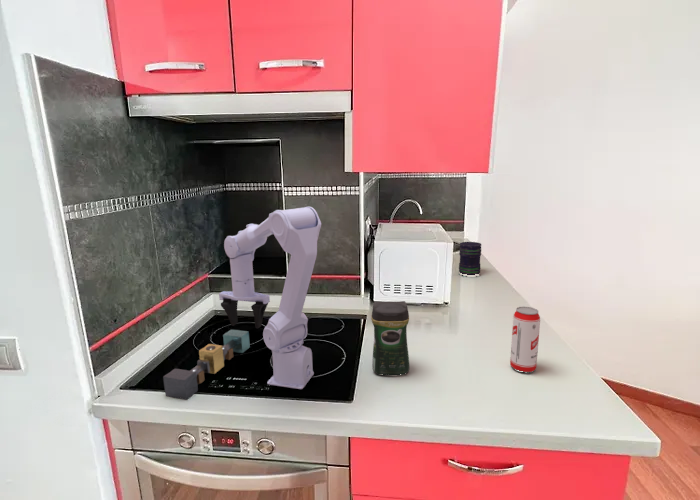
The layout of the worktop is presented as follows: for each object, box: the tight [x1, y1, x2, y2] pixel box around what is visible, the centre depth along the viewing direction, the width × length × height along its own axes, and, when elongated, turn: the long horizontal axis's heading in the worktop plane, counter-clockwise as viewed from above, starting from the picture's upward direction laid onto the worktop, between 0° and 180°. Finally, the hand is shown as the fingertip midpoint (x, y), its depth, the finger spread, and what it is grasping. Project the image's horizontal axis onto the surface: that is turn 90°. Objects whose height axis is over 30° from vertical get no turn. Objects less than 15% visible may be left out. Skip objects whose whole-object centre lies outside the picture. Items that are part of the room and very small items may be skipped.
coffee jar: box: [370, 300, 410, 376], centre depth 102 cm, size 10×8×19 cm
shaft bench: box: [162, 329, 251, 401], centre depth 106 cm, size 6×28×5 cm, turn 163°
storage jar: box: [458, 241, 482, 275], centre depth 188 cm, size 10×10×15 cm
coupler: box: [198, 343, 225, 375], centre depth 106 cm, size 4×4×6 cm
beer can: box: [509, 306, 541, 373], centre depth 102 cm, size 6×6×16 cm
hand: (246, 325), depth 111 cm, fingers open, 7 cm apart
